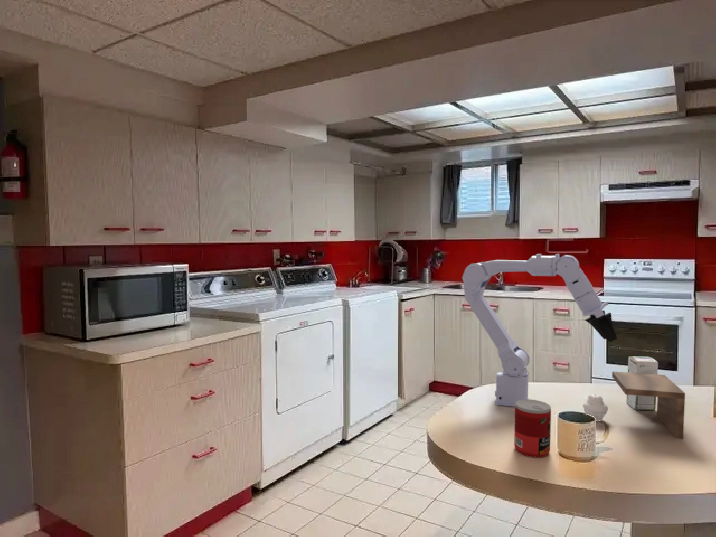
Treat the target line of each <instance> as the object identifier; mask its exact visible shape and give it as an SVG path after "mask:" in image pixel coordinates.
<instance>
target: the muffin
mask: <svg viewBox="0 0 716 537" xmlns="http://www.w3.org/2000/svg"><path fill="white" fill-rule="evenodd" d="M582 407H583V412H584V413H585V415H586V414H589V415H591V416H594V417H595V418H596V420H597V421H598V420H601V421H602V420H603V419H604V417H605V416H606V414H607V412H608V410H609V406H608V405H607V404H606V403H605V402H604V399H603V397H602V396H601V395H598V394H591V395H589V396H588V397H587V399H586V400H585V401H584V402H583V404H582Z"/></svg>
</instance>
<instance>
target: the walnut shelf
mask: <svg viewBox="0 0 716 537" xmlns="http://www.w3.org/2000/svg"><path fill="white" fill-rule="evenodd" d="M611 376H612V379H613V380H614V381H615V382H616V385H618V387H620V389H621V390H622V392H623V393H624V394H625V395H626V396H627V395H639V396H652V397H656V416H657V418H659V420H660V421H661V422H662V423H663V424H664V426H665V427H666V428H667V429H668V430H669V432H670V433H671V434H672V435H673V436H674V437H675V439H680V440H684V425H685V405H686V393H685V391H683V390H682V389H681V388H680V387H679V386H678V385H677V384H675V382H673V381H672V380H671V379H670V378H669V377H668V376H666V375H665V374H658V373H657V374H642V373H628V371H627V372H626V371H625V372H623V371H612V373H611Z"/></svg>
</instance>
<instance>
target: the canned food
mask: <svg viewBox="0 0 716 537" xmlns="http://www.w3.org/2000/svg"><path fill="white" fill-rule="evenodd" d="M551 424H552V407H551V405H550V404H549V403H547V402H545V401H542V400H537V399H530V398H529V399H524V400H518V401H516V402H515V406H514V432H513V433H514V438H513V439H514V440H513V441H514V442H513V443H514V444H513V446H514V449H515V451H516V452H518V453H519V454H520V455H522V456H526V457H530V458H536V459H537V458H539V459H541V458H545V457H547V456H548V455H550V454H549V453H550V451H551V432H552V431H551V428H552V427H551Z"/></svg>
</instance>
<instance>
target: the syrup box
mask: <svg viewBox="0 0 716 537" xmlns="http://www.w3.org/2000/svg"><path fill="white" fill-rule="evenodd" d="M658 367H659V362H658V361H657V360H656V359H654V358H653V357H650V356H629V355H628V359H627V373H642V374H657V375H658V370H659V369H658ZM625 402H626V404H627V405H628V406H629V407H631V408H632V409H634V410H635V411H656V410H657V397H652V396H639V395H626V400H625Z"/></svg>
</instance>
